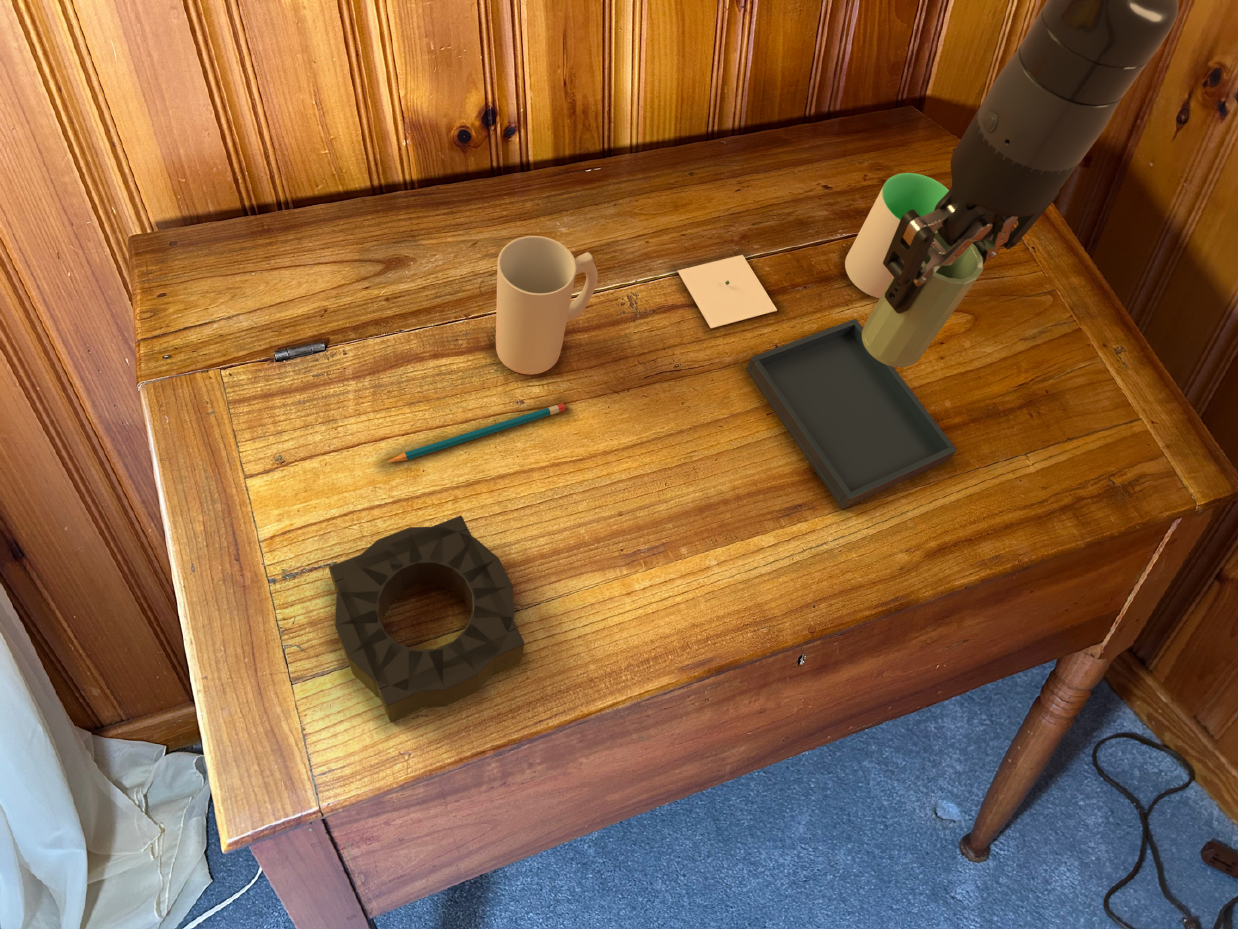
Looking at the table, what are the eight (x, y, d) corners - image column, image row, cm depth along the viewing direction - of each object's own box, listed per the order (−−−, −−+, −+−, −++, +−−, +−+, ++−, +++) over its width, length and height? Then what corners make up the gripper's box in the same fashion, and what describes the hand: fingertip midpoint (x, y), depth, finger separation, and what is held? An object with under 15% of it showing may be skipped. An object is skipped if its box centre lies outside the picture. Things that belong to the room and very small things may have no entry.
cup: (935, 355, 81) (997, 271, 72) (885, 376, 79) (942, 291, 70) (898, 309, 83) (954, 220, 74) (848, 327, 81) (899, 239, 72)
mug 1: (512, 387, 87) (519, 305, 77) (480, 335, 89) (483, 248, 79) (604, 352, 91) (623, 269, 80) (571, 302, 93) (585, 216, 83)
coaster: (710, 328, 94) (712, 323, 93) (677, 270, 97) (678, 265, 97) (777, 310, 97) (779, 305, 96) (742, 254, 100) (744, 249, 99)
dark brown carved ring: (538, 663, 74) (542, 644, 70) (378, 737, 69) (374, 722, 66) (470, 527, 79) (471, 502, 75) (318, 587, 75) (310, 565, 71)
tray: (947, 461, 90) (957, 450, 88) (841, 509, 86) (849, 499, 84) (848, 330, 97) (855, 318, 95) (745, 369, 92) (750, 357, 90)
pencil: (565, 411, 87) (566, 407, 86) (388, 468, 81) (387, 464, 80) (561, 405, 87) (562, 401, 86) (385, 460, 81) (384, 456, 81)
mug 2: (917, 230, 106) (959, 159, 97) (956, 281, 103) (1004, 213, 94) (831, 252, 102) (867, 181, 93) (869, 307, 99) (910, 238, 90)
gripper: (990, 192, 57) (883, 355, 72) (1145, 140, 62) (1016, 302, 77) (918, 113, 60) (829, 285, 74) (1072, 70, 65) (961, 239, 80)
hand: (924, 293), depth 75 cm, fingers closed on cup, 5 cm apart
